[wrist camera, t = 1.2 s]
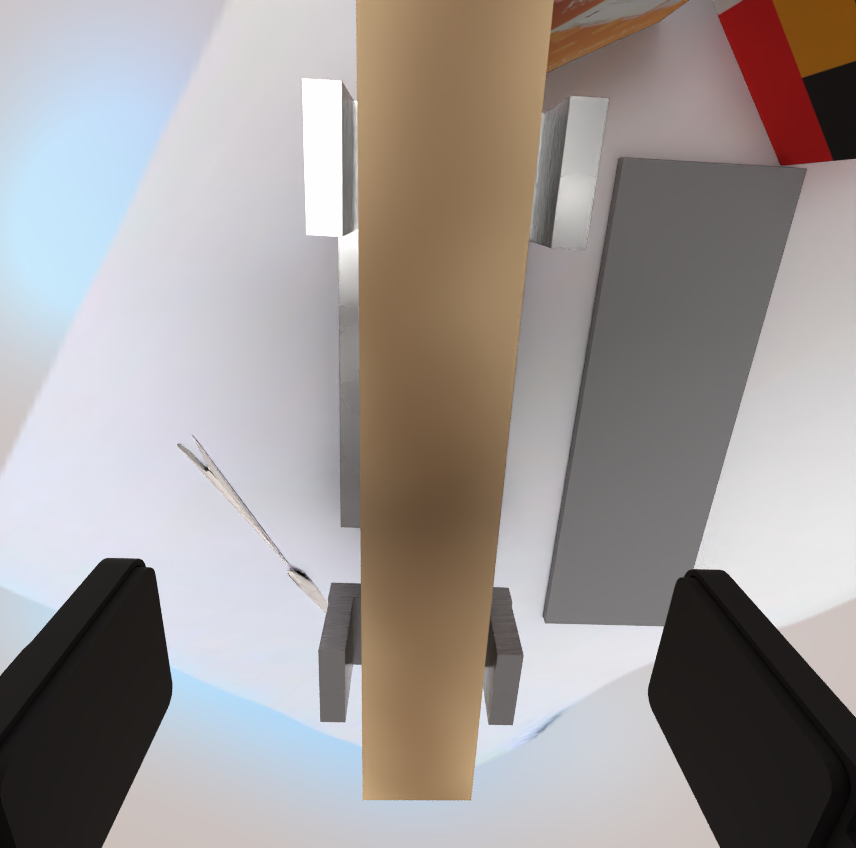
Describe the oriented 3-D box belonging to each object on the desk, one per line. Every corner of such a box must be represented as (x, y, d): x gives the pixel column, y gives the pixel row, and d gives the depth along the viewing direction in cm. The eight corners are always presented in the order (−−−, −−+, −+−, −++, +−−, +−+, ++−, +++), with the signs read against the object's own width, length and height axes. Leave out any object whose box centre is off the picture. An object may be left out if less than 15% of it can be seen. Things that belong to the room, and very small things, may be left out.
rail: (521, 16, 13) (559, -48, 9) (462, 707, 21) (470, 800, 18) (371, 8, 13) (356, -60, 9) (370, 706, 21) (362, 800, 18)
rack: (528, 139, 23) (655, 72, 11) (487, 521, 31) (536, 736, 18) (340, 128, 23) (257, 45, 11) (343, 517, 30) (294, 732, 18)
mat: (798, 169, 24) (807, 168, 24) (672, 619, 33) (676, 626, 33) (619, 158, 24) (623, 157, 23) (543, 616, 33) (545, 623, 33)
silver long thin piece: (352, 694, 34) (146, 460, 28) (353, 681, 35) (155, 452, 29) (407, 667, 34) (210, 421, 27) (407, 655, 35) (217, 414, 28)
